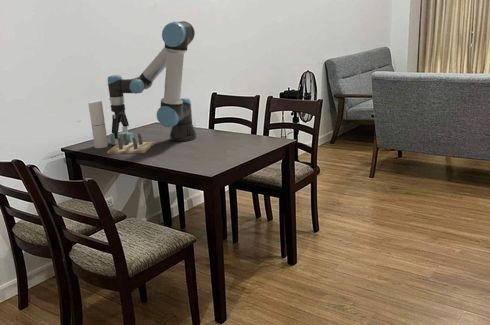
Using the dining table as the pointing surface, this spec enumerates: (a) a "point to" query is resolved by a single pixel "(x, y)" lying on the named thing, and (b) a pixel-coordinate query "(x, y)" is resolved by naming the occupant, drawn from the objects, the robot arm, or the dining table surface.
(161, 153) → the dining table surface
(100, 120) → the cylindrical container
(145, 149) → the wooden peg board
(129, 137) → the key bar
